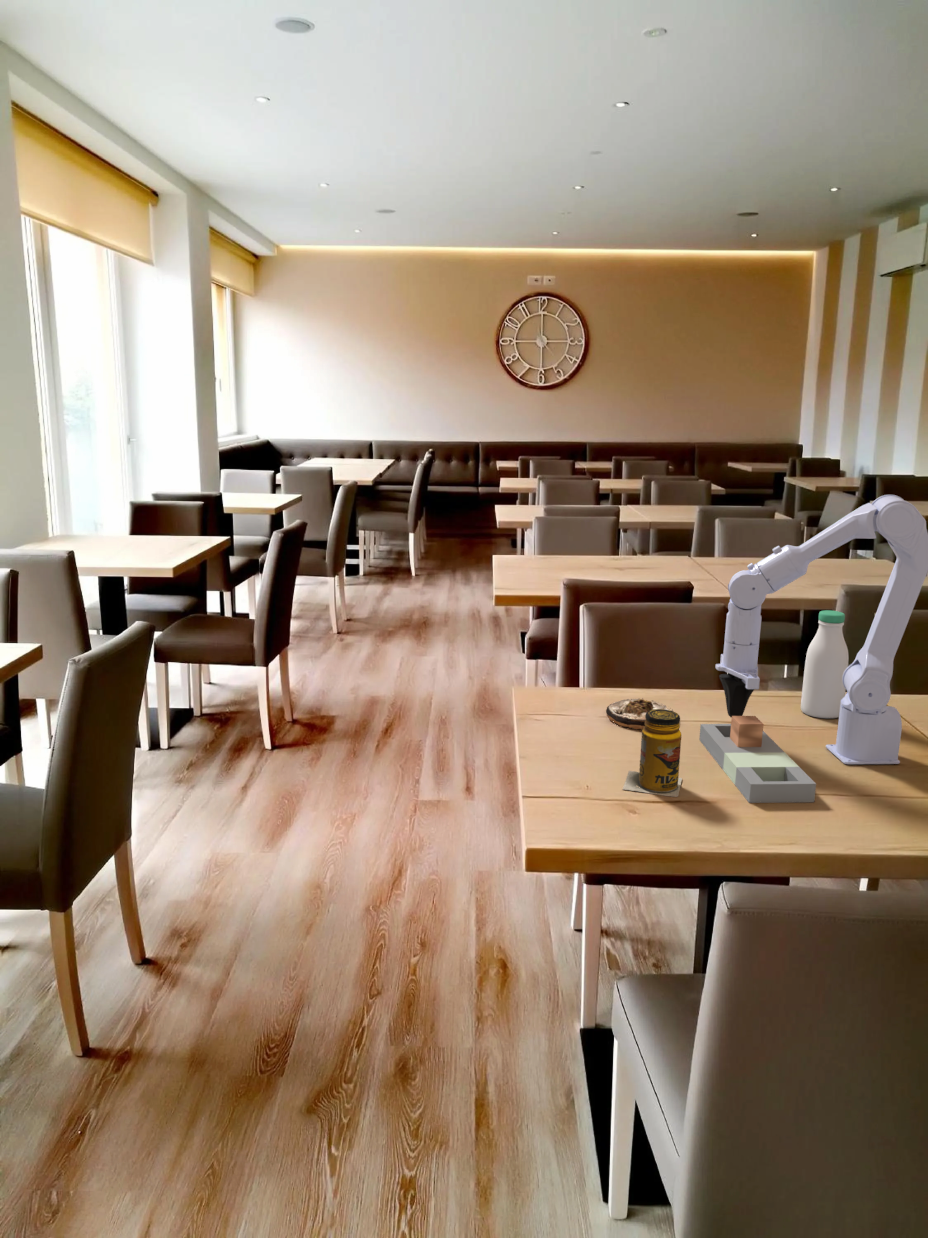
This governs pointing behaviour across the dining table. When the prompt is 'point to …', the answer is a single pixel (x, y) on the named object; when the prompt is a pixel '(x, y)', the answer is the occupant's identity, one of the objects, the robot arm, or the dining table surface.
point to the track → (758, 768)
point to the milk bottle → (825, 668)
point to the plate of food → (632, 712)
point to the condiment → (658, 755)
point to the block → (746, 731)
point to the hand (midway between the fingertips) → (734, 716)
